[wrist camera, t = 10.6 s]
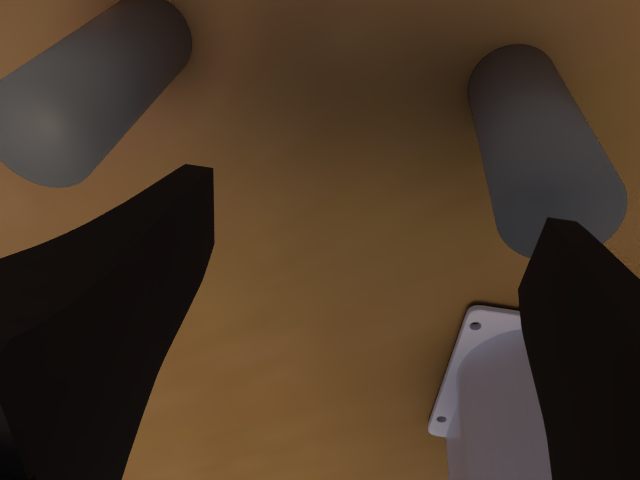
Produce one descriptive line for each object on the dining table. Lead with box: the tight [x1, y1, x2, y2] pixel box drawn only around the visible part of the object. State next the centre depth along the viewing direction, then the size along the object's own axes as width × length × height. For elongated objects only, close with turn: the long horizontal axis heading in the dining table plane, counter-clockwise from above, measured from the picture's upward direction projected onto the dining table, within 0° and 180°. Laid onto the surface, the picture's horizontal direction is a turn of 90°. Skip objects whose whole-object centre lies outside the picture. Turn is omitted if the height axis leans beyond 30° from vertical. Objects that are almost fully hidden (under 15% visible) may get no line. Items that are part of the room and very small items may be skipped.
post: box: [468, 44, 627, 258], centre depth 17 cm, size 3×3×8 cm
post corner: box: [0, 0, 192, 188], centre depth 18 cm, size 3×3×8 cm
